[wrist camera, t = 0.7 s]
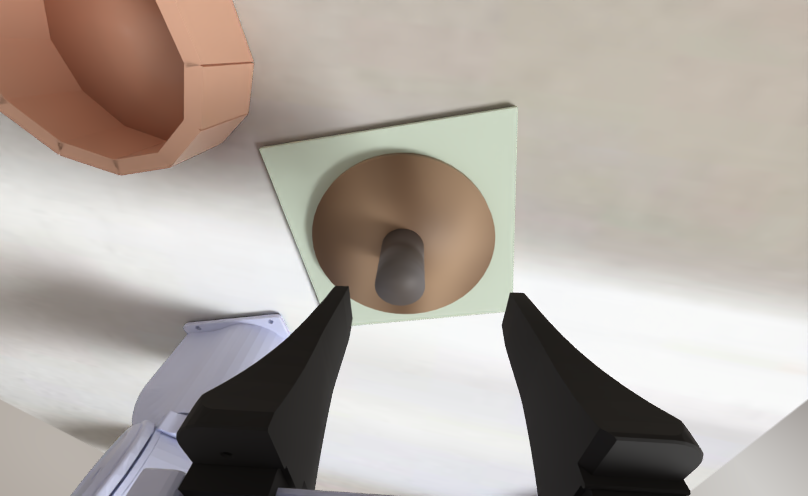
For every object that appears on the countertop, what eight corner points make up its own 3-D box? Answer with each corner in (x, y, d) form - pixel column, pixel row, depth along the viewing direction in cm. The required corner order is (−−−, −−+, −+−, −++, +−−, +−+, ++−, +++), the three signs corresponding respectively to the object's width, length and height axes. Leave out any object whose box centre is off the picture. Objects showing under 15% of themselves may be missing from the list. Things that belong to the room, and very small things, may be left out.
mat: (330, 323, 29) (329, 327, 28) (262, 146, 20) (259, 148, 20) (510, 307, 27) (512, 311, 26) (515, 105, 19) (517, 107, 18)
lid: (341, 314, 27) (326, 365, 23) (289, 168, 21) (253, 200, 16) (493, 299, 26) (510, 351, 21) (491, 137, 19) (514, 163, 15)
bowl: (127, 159, 21) (55, 185, 17) (-6, -57, 16) (-163, -97, 11) (279, 134, 20) (241, 156, 16) (193, -110, 14) (99, -177, 10)
